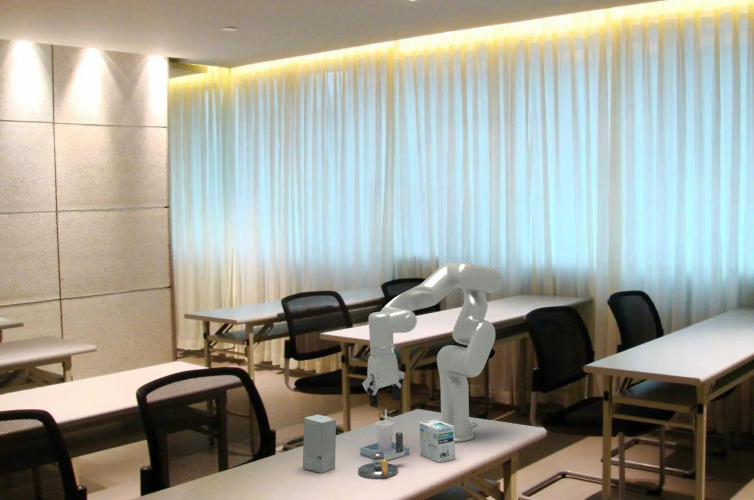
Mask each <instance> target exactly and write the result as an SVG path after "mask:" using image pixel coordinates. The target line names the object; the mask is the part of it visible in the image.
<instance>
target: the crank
mask: <svg viewBox="0 0 754 500" xmlns="http://www.w3.org/2000/svg"><path fill="white" fill-rule="evenodd" d="M395 443H396V451H392V452H389V453H386V454H384V453H383V452H372V453H371V458H370V459H372V463H374V462H376V463H380V462H381V459H387V460H389V461H391V460H390V459H393V458H396V457H399V458H401V457H400V456H403V455H405V451H403V445H404V434H403V432H402V431H401V432H395ZM403 457H404V456H403ZM396 459H397V458H396ZM393 460H394V459H393Z"/></svg>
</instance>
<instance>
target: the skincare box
mask: <svg viewBox="0 0 754 500" xmlns="http://www.w3.org/2000/svg"><path fill="white" fill-rule="evenodd" d="M336 437H337V419H336V418H332V417H329V416H326V415H321V414H316V415H315V414H314V415H311V416H310V415H309V416H306V417H304V418H303V446H302V447H303V449H302V450H303V451H302V452H303V453H302V468H303V469H305V470H308V471H311V472H316V473H320V474H323V473H326V472H328V471H332V470H334V469H336V445H337V444H336V443H337V441H336V440H337V439H336Z"/></svg>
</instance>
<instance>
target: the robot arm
mask: <svg viewBox="0 0 754 500" xmlns="http://www.w3.org/2000/svg"><path fill="white" fill-rule="evenodd" d="M502 278H503V277H502V275H501V273H500V271H499V270H498V269H497V268H494V267H492V266H491V267H489V266H484V265H479V264H473V263H470V262H460V261H459V262H458V261H449V262H445V263H443V264H442V265H441V266H439V267H438V268H437V269H436V270H435V271H434V272H433V273H432V274H430V275H429V276H428V277H427V278H425V280H424V281H422V282H421V283H420V284H418V285H416V286H414V287H412V288H410V289H408V290H406V291H404V292H402V293H400V294H398V295H397V296H395V297H394V298H393V299H391V300H390V301H389V302H387V304H386V305H384V307H382V308H381V310H380V311H376V312H372V313H370V314H369V315H368V329H369V331H368V332H369V344H370V345H369V347H370V356H368V360H367V372H366V373H367V378H366V379H364V381H363V382H362V386H363V389H364V391H365V392H366V393H367V394H368V395H369V406H370V407H373V408H378V407H379V398H378V394H377V392H378V391H379V389H381V388H384V387H388V386H392V387H391V392H392V394H391V395H392V400H394V401H401V388H402V384H403V382H404V378H405V374H406V373H405V372H404V371H401V370H400V369H399V364H398V358H397V356H396V355H397V354H396V353H395V349H396V345H395V343H394V334H402V333H403V334H404V333H405V334H406V333H409V332H410V333H411V331H413V330H414V329H415V327H416V326H417V324H418V319H417V316H416V314H415V313H414V311H417V310H421V309H426V308H430V307H432V306H433V307H434V306H436V305H437V304H439V303H440V301H441V300H443V299H444V298H445V297H446V296H447V295H448V294H449V293H451V292H452V291H453V290H454V289H455V288H461V289H462V292H463V297H464V299H463V301H464V302H463V305H462V306H461V307H462V308H461V310H460V312H459V315H458V317H457V320H456V321H455V324H454V327H453V329H452V339H453V340H454V341H455V342H457V343H458V344H461V345H465V346H467V347H465V346H460V345H455V344H454V345H451V344H449V345H445V346H443V347H442V348H441V349H440V350H439V351H438V353H437V357H436V363H437V364H436V365H437V369H438V373H439V374H438V375H439V382H440V414H441V415H440V416H441V417H440V419H441V420H440V421H441V422H444V423H446V424H450V425H453V426H454V428H455V443H459V442H467V441H471V440H472V439H474V437H475V435H474V434H475V433H474V432H473V431H472V429H474V428H477V427H478V426H479V423H478V422H477V421H473V422H470V411H469V410H470V408H469V407H470V406H469V403H470V402H469V398H470V397H469V382H468V379H467V378H476V377H478V376H479V375H480V374H481V373H482V371H483V370H484V368H485V365H486V363H487V360H488V359H489V355H490V353H491V350H492V349H493V346H494V343H495V340H496V329H495V326H494V325H493V323H491V322H490V321H488V320H487V319H485V317H486V314H487V312H488V306H489V305H488V304H489V303H488V299H487V296H486V293H489V294H490V293H494V292H496V291H498V290H499V289H500V288H501V286H502V283H503V279H502Z"/></svg>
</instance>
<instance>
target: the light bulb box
mask: <svg viewBox="0 0 754 500" xmlns="http://www.w3.org/2000/svg"><path fill="white" fill-rule="evenodd" d="M419 446H420V447H419V449H420V451H419V452H420V456H423V457H425V458H427V459H430V460H432V461H434V462H436V463H442V462H449V461H453V460H456V442H455V428H454V426H453V425H450V424H446V423H444V422H441V420H437V419H430V420H425V421H420V422H419Z"/></svg>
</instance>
